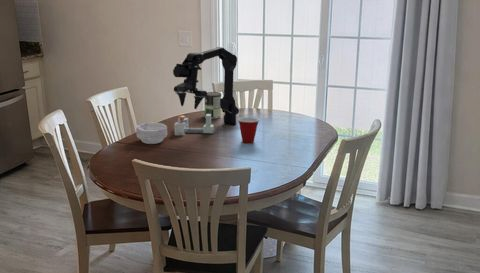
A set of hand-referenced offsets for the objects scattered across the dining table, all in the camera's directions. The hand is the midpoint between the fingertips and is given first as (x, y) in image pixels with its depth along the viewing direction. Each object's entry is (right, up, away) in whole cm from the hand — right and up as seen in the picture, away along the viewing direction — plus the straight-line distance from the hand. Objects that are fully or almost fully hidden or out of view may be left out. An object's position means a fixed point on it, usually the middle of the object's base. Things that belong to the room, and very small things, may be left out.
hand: (188, 107), depth 258 cm
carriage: (+10, -13, +6) cm, 17 cm away
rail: (+6, -13, +6) cm, 15 cm away
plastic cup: (+31, -18, -9) cm, 37 cm away
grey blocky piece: (-4, -13, +7) cm, 15 cm away
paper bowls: (-17, -18, -11) cm, 27 cm away
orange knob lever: (-4, -9, +6) cm, 12 cm away
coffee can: (+11, -3, +39) cm, 41 cm away
